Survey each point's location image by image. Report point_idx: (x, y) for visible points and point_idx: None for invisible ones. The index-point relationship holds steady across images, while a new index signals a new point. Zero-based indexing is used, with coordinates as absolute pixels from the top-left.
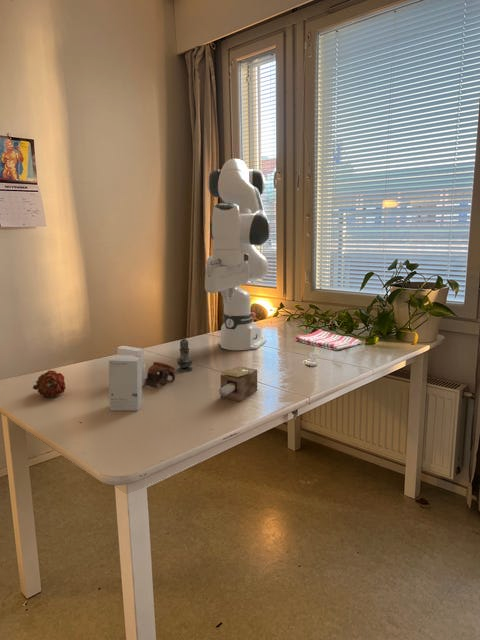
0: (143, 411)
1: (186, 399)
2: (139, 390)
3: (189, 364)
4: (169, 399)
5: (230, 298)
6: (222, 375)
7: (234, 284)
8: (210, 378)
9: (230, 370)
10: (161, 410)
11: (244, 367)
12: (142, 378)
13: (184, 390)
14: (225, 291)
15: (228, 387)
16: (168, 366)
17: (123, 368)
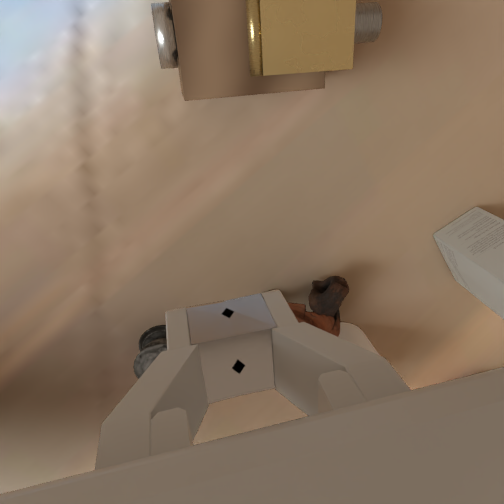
0: (472, 193)
1: (361, 162)
2: (489, 235)
3: (163, 339)
4: (381, 201)
5: (224, 322)
6: (324, 77)
7: (197, 496)
8: (174, 231)
9: (308, 50)
10: (452, 161)
11: (180, 60)
12: (342, 335)
13: (306, 218)
14: (395, 385)
15: (357, 9)
16: (304, 318)
17: None
